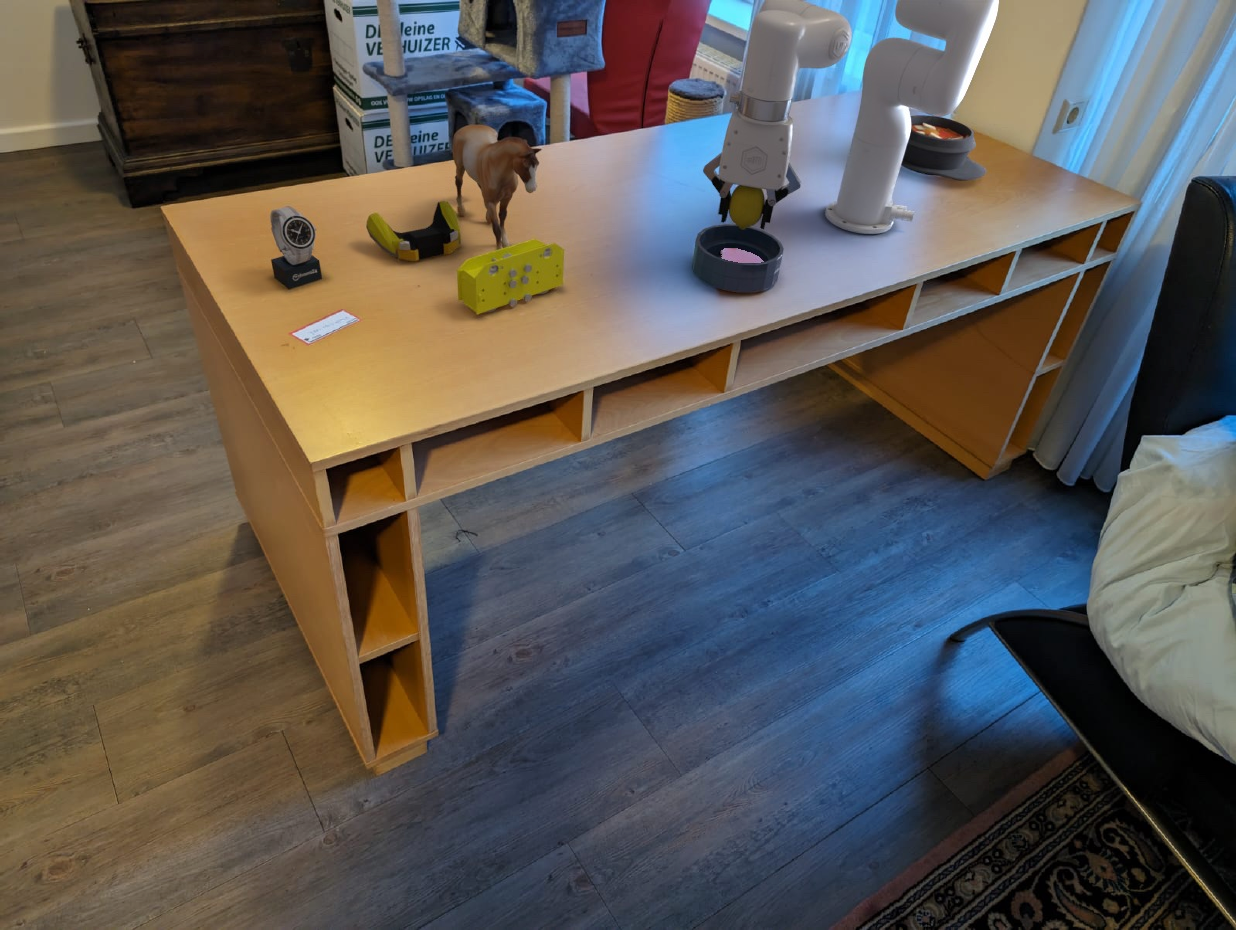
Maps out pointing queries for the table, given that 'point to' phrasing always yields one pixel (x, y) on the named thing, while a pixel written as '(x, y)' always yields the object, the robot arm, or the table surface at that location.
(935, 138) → the casserole
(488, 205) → the horse figurine
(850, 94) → the table surface
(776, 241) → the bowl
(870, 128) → the robot arm
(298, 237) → the watch
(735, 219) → the lemon
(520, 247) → the yellow toy chassis
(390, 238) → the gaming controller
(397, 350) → the table surface
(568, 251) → the table surface
